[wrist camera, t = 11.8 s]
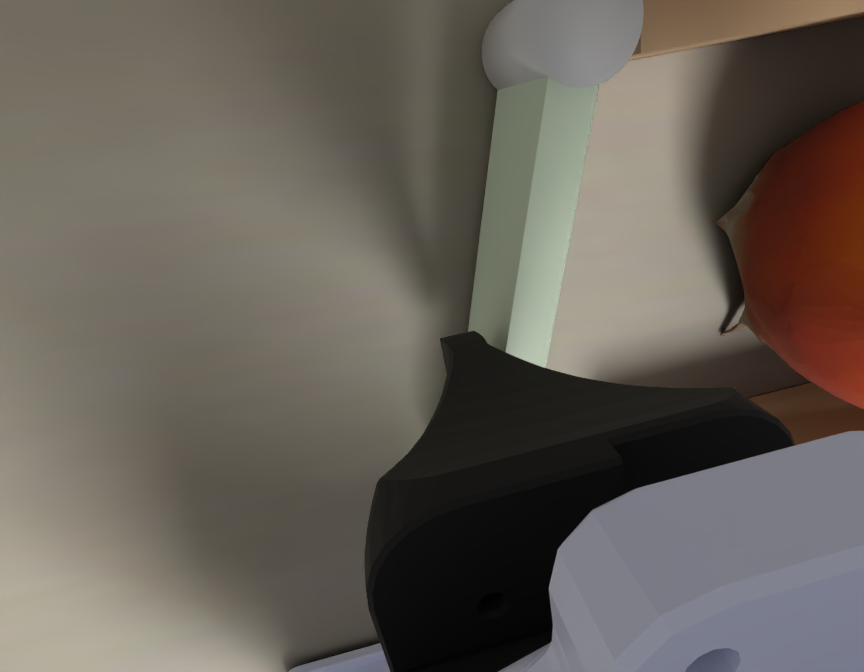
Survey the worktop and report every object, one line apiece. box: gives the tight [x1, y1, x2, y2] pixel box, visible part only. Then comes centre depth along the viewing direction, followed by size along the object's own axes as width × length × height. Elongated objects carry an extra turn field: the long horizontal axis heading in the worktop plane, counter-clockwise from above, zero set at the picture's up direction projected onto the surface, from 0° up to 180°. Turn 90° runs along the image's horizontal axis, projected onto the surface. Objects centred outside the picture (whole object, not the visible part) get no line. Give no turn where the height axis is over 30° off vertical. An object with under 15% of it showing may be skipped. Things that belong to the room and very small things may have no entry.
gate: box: [468, 0, 644, 368], centre depth 12 cm, size 13×2×3 cm, turn 175°
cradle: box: [629, 0, 864, 445], centre depth 13 cm, size 13×13×4 cm
